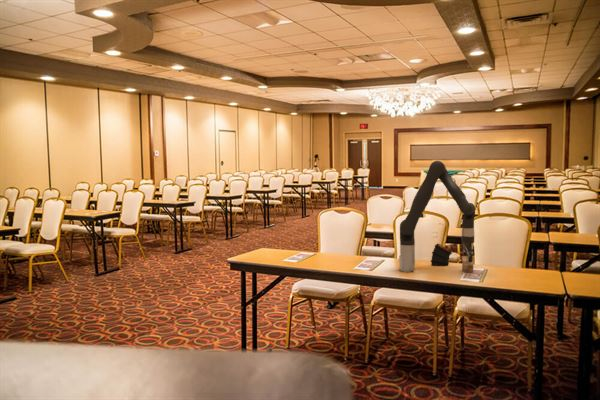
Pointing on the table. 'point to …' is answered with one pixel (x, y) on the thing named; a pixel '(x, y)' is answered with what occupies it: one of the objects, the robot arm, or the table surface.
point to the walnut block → (467, 268)
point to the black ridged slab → (440, 256)
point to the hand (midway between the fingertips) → (467, 260)
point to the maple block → (466, 260)
